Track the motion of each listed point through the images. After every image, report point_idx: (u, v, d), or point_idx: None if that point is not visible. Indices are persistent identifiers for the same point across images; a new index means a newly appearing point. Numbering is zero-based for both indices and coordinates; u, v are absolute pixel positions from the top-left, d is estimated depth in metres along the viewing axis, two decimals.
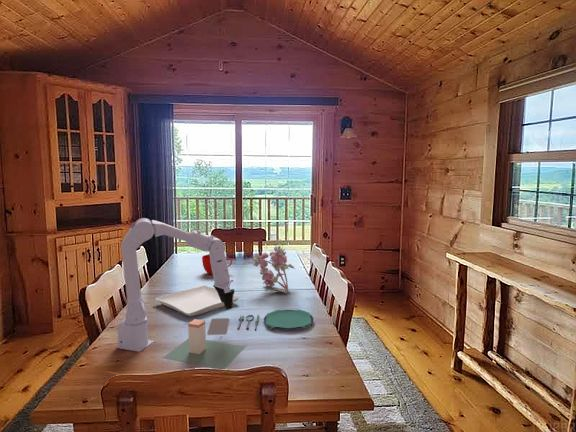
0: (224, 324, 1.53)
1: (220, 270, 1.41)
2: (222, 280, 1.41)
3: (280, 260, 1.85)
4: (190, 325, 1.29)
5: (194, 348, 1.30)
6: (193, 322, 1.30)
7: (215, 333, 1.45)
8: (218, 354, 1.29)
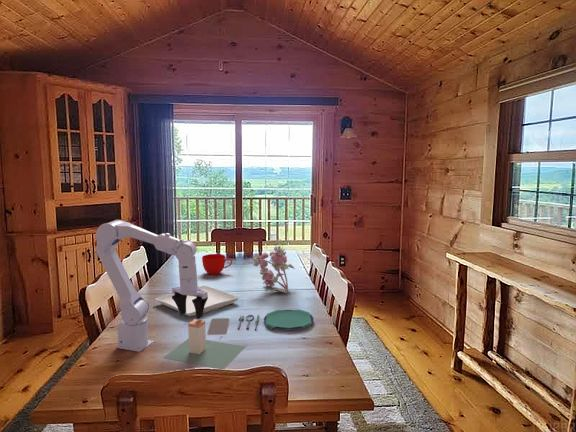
0: (224, 324, 1.53)
1: (185, 277, 1.30)
2: (194, 287, 1.32)
3: (280, 260, 1.85)
4: (190, 325, 1.29)
5: (194, 348, 1.30)
6: (193, 322, 1.30)
7: (215, 333, 1.45)
8: (218, 354, 1.29)
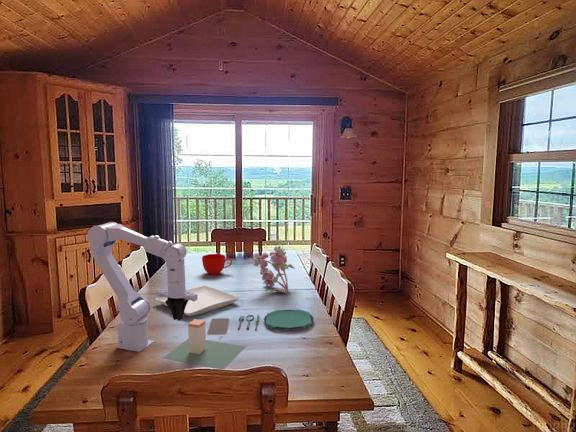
0: (224, 324, 1.53)
1: (171, 280, 1.28)
2: (183, 289, 1.30)
3: (280, 260, 1.85)
4: (190, 325, 1.29)
5: (194, 348, 1.30)
6: (193, 322, 1.30)
7: (215, 333, 1.45)
8: (218, 354, 1.29)
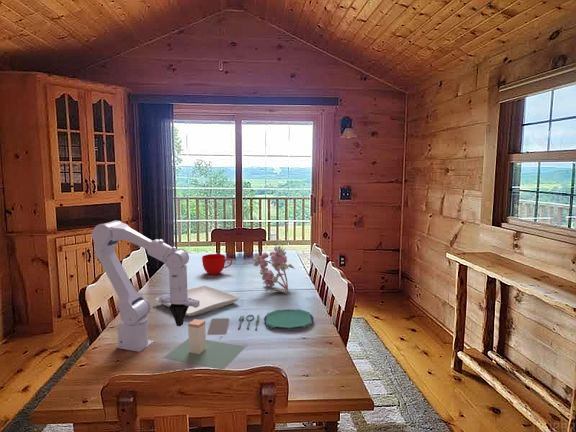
0: (224, 324, 1.53)
1: (174, 286, 1.28)
2: (185, 295, 1.30)
3: (280, 260, 1.85)
4: (190, 325, 1.29)
5: (194, 348, 1.30)
6: (193, 322, 1.30)
7: (215, 333, 1.45)
8: (218, 354, 1.29)
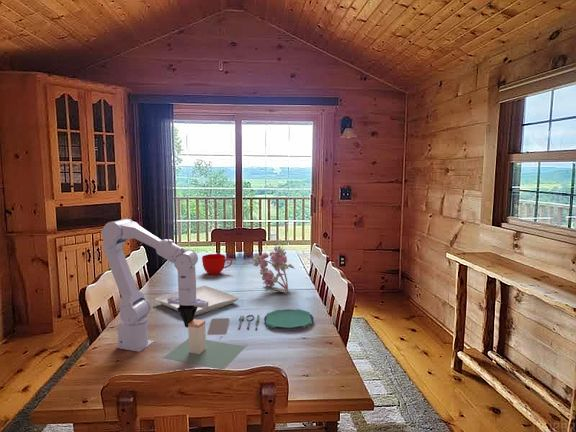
0: (224, 324, 1.53)
1: (182, 287, 1.27)
2: (194, 296, 1.29)
3: (280, 260, 1.85)
4: (190, 325, 1.29)
5: (194, 348, 1.30)
6: (193, 322, 1.30)
7: (215, 333, 1.45)
8: (218, 354, 1.29)
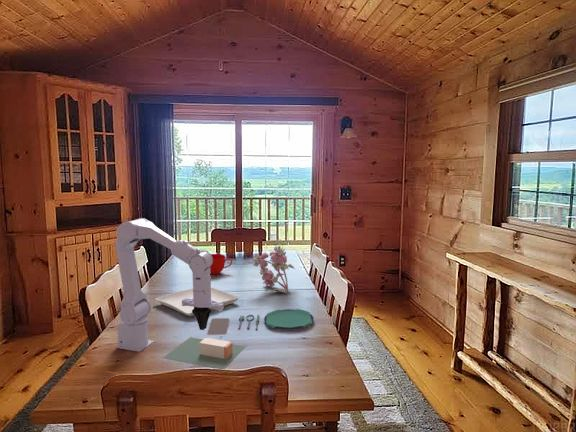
0: (224, 324, 1.53)
1: (197, 289, 1.26)
2: (209, 298, 1.28)
3: (280, 260, 1.85)
4: (225, 350, 1.26)
5: (204, 349, 1.29)
6: (228, 348, 1.27)
7: (215, 333, 1.45)
8: None
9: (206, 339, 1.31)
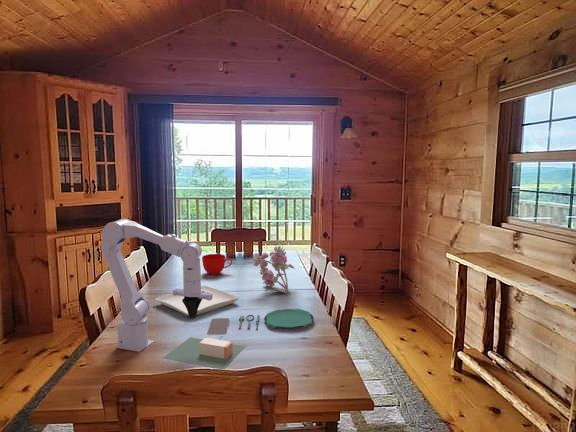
0: (224, 324, 1.53)
1: (188, 279, 1.30)
2: (198, 288, 1.32)
3: (280, 260, 1.85)
4: (225, 350, 1.26)
5: (204, 349, 1.29)
6: (228, 348, 1.27)
7: (215, 333, 1.45)
8: None
9: (206, 339, 1.31)
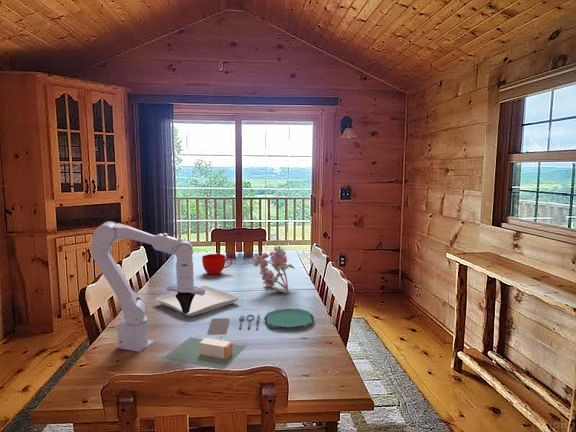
0: (224, 324, 1.53)
1: (183, 275, 1.34)
2: (191, 284, 1.36)
3: (280, 260, 1.85)
4: (225, 350, 1.26)
5: (204, 349, 1.29)
6: (228, 348, 1.27)
7: (215, 333, 1.45)
8: None
9: (206, 339, 1.31)
